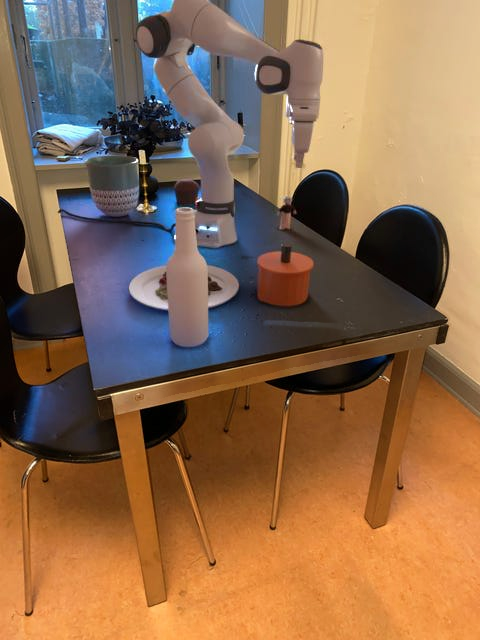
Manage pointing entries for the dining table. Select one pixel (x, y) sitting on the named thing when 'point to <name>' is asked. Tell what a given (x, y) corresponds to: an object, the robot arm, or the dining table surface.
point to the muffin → (186, 192)
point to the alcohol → (187, 285)
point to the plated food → (154, 287)
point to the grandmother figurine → (286, 213)
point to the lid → (285, 262)
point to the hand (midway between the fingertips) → (297, 164)
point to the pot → (282, 288)
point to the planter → (113, 183)
